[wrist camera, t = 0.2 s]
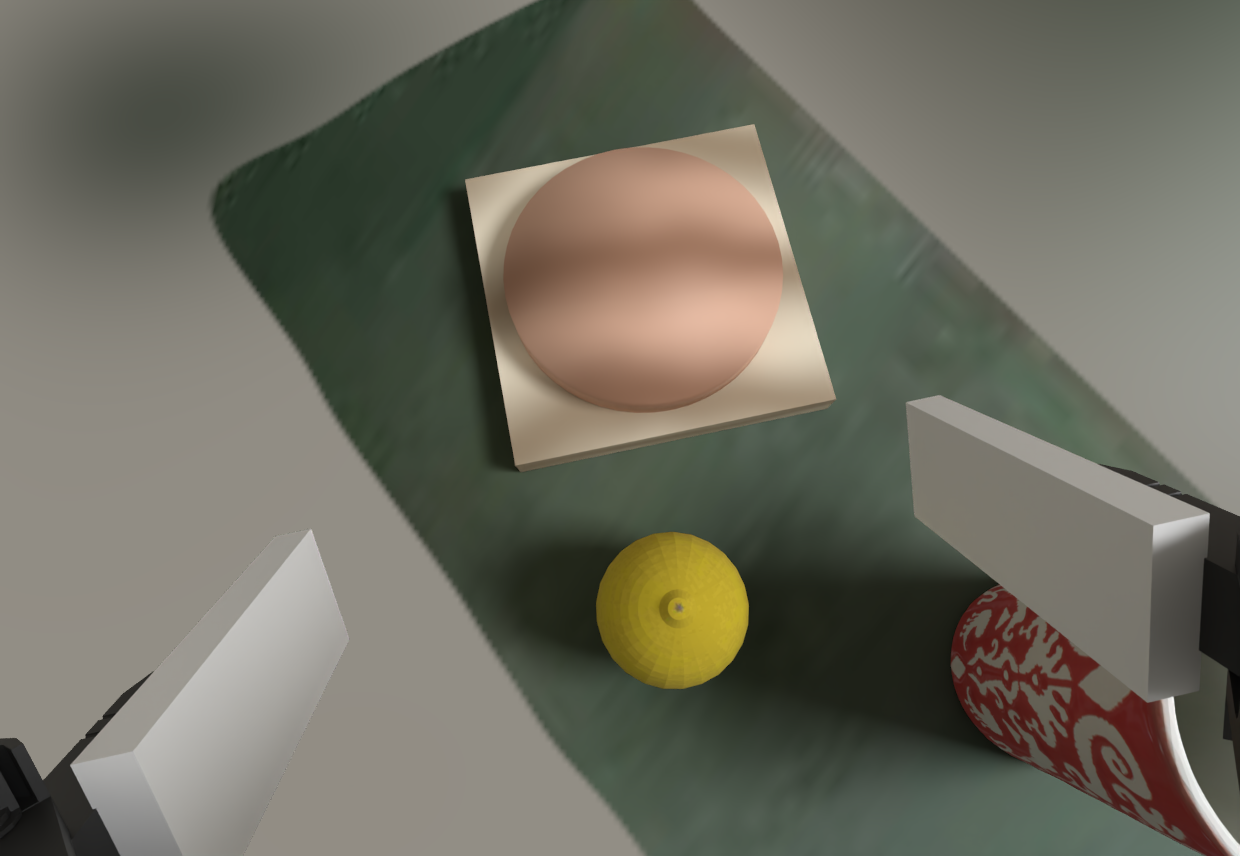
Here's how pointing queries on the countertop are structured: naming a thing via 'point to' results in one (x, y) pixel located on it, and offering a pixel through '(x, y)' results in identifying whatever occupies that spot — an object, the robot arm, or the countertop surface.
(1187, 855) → the countertop surface
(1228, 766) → the mug
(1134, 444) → the countertop surface
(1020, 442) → the robot arm
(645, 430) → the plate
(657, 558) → the lemon
